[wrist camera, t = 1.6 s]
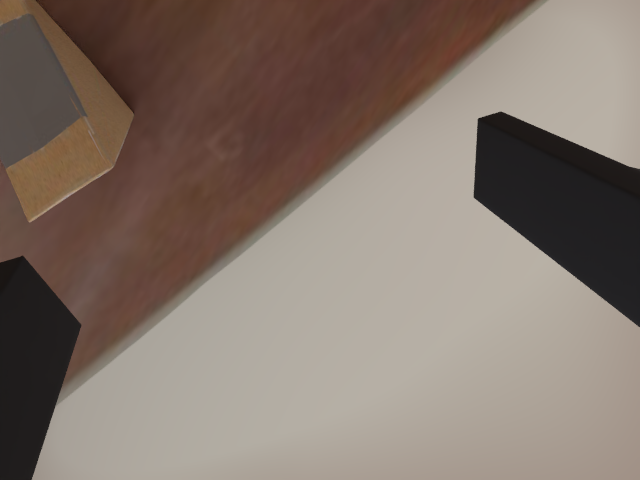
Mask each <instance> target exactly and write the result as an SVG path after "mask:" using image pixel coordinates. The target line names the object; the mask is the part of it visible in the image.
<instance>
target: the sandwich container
mask: <svg viewBox="0 0 640 480" xmlns="http://www.w3.org/2000/svg"><path fill="white" fill-rule="evenodd" d="M133 117H134V113H133V112H132V111H131V110H130V108H129V107H128V106H127V105H126V104H125V102H124V101H123V100H122V99H121V98H120V96H119V95H118V94H117V93H116V91H115V90H114V89H113V88H112V87H111V85H110V84H109V83H108V82H107V81H106V79H105V78H104V77H103V76H102V75H101V73H100V72H99V71H98V70H97V69H96V67H95V66H94V65H93V64H92V63H91V61H90V60H89V59H88V58H87V57H86V56H85V55H84V54H83V53H82V51H81V50H80V49H79V48H78V47H77V46H76V45H75V44H74V43H73V41H72V40H71V39H70V38H69V37H68V36H67V35H66V34H65V33H64V31H63V30H62V29H61V28H60V27H59V26H58V25H57V24H56V23H55V22H54V20H53V19H52V18H51V17H50V16H49V15H48V14H47V13H46V12H45V10H44V9H43V8H42V7H41V6H40V5H39V4H38V3H37V2H36V0H0V159H1V161H2V163H3V165H4V167H5V169H6V172H7V174H8V176H9V178H10V181H11V183H12V185H13V187H14V190H15V192H16V194H17V196H18V198H19V201H20V203H21V206H22V208H23V210H24V213H25V215H26V218H27V220H28V222H32V221H33V220H35V219H36V218H38V217H39V216H40V215H42V214H43V213H45V212H46V211H48V210H49V209H51V208H52V207H54V206H55V205H57V204H58V203H60V202H61V201H63V200H64V199H66V198H67V197H69V196H70V195H72V194H73V193H75V192H76V191H78V190H79V189H81V188H83V187H84V186H86V185H87V184H89V183H90V182H92V181H94V180H95V179H97V178H98V177H100V176H101V175H103V174H104V173H106V172H108V171H109V170H111V169H112V168H113V167H114V166H115V163H116V161H117V158H118V156H119V153H120V151H121V148H122V145H123V143H124V140H125V138H126V135H127V133H128V130H129V128H130V125H131V122H132V120H133Z"/></svg>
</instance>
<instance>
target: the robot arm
mask: <svg viewBox="0 0 640 480" xmlns="http://www.w3.org/2000/svg"><path fill="white" fill-rule="evenodd" d="M477 128H478V129H477V145H476V164H475V183H474V198H475V199H476V200H478V201H479V202H480V203H481V204H483V205H484V206H485V207H486V208H488V209H489V210H490V211H491V212H493V213H494V214H495V215H497V216H498V217H499V218H500V219H502V220H503V221H504V222H506V223H507V224H508V225H509V226H511V227H512V228H514V229H515V230H516V231H517V232H519V233H520V234H521V235H522V236H524V237H525V238H526V239H527V240H529V241H530V242H531V243H533V244H534V245H535V246H536V247H538V248H539V249H540V250H541V251H543V252H544V253H545V254H547V255H548V256H549V257H551V258H552V259H553V260H554V261H556V262H557V263H558V264H559V265H561V266H562V267H563V268H565V269H566V270H567V271H568V272H570V273H571V274H572V275H573V276H575V277H576V278H577V279H579V280H580V281H581V282H583V283H584V284H585V285H586V286H588V287H589V288H590V289H592V290H593V291H594V292H595V293H597V294H598V295H599V296H601V297H602V298H603V299H604V300H606V301H607V302H608V303H609V304H611V305H612V306H613V307H615V308H616V309H617V310H618V311H620V312H621V313H622V314H623V315H625V316H626V317H627V318H629V319H630V320H631V321H632V322H634V323H635V324H636V325H638V326H639V327H640V169H637V168H632V167H629V166H626V165H624V164H621V163H619V162H617V161H615V160H612V159H610V158H607V157H605V156H603V155H601V154H598V153H596V152H594V151H592V150H589V149H587V148H584V147H582V146H580V145H578V144H575V143H573V142H570V141H568V140H566V139H564V138H561V137H559V136H557V135H554V134H552V133H550V132H547V131H545V130H543V129H541V128H538V127H536V126H534V125H531V124H529V123H527V122H524V121H522V120H520V119H517V118H515V117H513V116H510V115H508V114H506V113H503V112H498V113H495V114H491V115H488V116H485V117H482V118H479V119H478V127H477ZM80 328H81V324H80V323H79V322H78V320H77V319H76V318H75V317H74V316H73V314H72V313H71V312H70V311H69V310H68V309H67V307H66V306H65V305H64V304H63V303H62V301H61V300H60V299H59V298H58V297H57V296H56V294H55V293H54V292H53V291H52V290H51V288H50V287H49V286H48V285H47V284H46V282H45V281H44V280H43V279H42V278H41V277H40V275H39V274H38V273H37V272H36V271H35V269H34V268H33V267H32V266H31V265H30V263H29V262H28V261H27V260H26V259H25V258H24V256H21V257H18V258H14V259H11V260H8V261H4V262H1V263H0V480H32V477H33V474H34V471H35V468H36V464H37V461H38V458H39V455H40V452H41V449H42V446H43V443H44V440H45V436H46V433H47V430H48V427H49V424H50V421H51V418H52V415H53V412H54V409H55V405H56V402H57V399H58V396H59V393H60V390H61V387H62V384H63V381H64V378H65V374H66V371H67V368H68V365H69V362H70V359H71V356H72V353H73V350H74V347H75V343H76V340H77V337H78V334H79V331H80Z"/></svg>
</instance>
